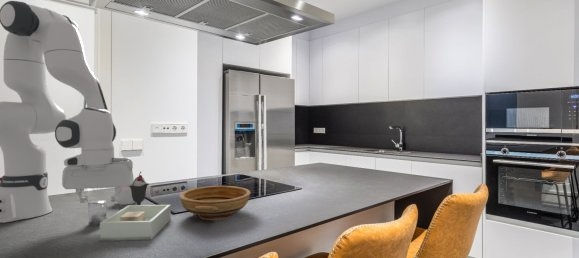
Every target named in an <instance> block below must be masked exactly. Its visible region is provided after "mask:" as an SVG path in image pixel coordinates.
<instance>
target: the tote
mask: <svg viewBox="0 0 579 258" xmlns="http://www.w3.org/2000/svg"><path fill="white" fill-rule="evenodd" d="M171 206H172V205H171V204H141V205H137V204H135V205H133V204H128V205H125V207H123V208H122V209H119V211H117V212H114V213H113V214H112V215H110V216H108V217H107V219H105V220H103V221H102V222H100V226H99V241H100V242H103V241H104V242H106V241H107V242H108V241H109V242H111V241H139V240H140V241H145V240H147V241H149V240H153V239H154V238H155V236H156V235H158V233H159V232H160V231H161V230H162V229H163V228H164V227H165V226H167V224H168V223H169V222H170V221H171V219H172V215H171V214H172V212H171V210H172V208H171ZM127 212H145V221H120V217H121V216H122V215H124V214H125V213H127Z"/></svg>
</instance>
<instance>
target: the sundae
mask: <svg viewBox="0 0 579 258" xmlns="http://www.w3.org/2000/svg"><path fill="white" fill-rule="evenodd" d="M141 173H142V171H140V172H139V175H138V176H137V177H135V178H134V182H133V184H132V185H131V186H129V187H130V188H131V193H132V199H133V201H134V202H136V203H135V204H136V205H142V204H141V203H143V201H144V200H145V199H146V196H147V194H146V193H147V189H148V188H147V187H148V186H149V185H150V184H149V183H148V182H147V181H145V178H144V177H143V175H142V174H141Z"/></svg>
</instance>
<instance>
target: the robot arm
mask: <svg viewBox="0 0 579 258" xmlns="http://www.w3.org/2000/svg"><path fill="white" fill-rule="evenodd" d="M0 25H1V26H2V28H3V30H5V31H7V32H8V34H7V35H6V38H5V42H4V48H3V83H4V85H5V86H6V87H7V88H9V89H10V90H12V91H14V92H15V93H17V95H18V96H19V97H20V100H21V101H20V102H19V101H18V102H17V101H0V149H1V152H2V156H3V167H4V170H3V171H4V175H3V176H1V177H0V223H2V224H3V223H9V222H14V221H19V220H26V219H31V218H36V217H40V216H44V215H46V214H49V213H51V212H52V211H53V208H52V206H51V203H50V198H49V193H48V185H49V184H48V183H49V178H48V177H49V176H48V172H47V153H46V151H45V149H44V148H43V147H40V146H39V145H37V144H34V142H33V141H32V140H31V138H30V135H39V134H44V135H45V134H50V133H54V136H55V137H54V138H55V139H56V142H57V143H58V145H60V146H61V147H62V148H65V149H81V151H80V152H81V153H80V154H76V155H74V156H72V157H71V156H70V157H67V158H66V159H64V160H63V165H64V166H65V167H64V168H63V170H62V177H61V180H62V181H61V182H62V183H61V185H62V187H63V188H64V189H65V190H75V193H76V195H77V196H78V198H79V204H84V203H85V204H86V203H89V196H88V195H85V193H84V191H85V189H107V188H108V189H110V188H113V189H114V188H115V189H114V194H113V195H111V196H110V198H111V202H113V203H114V202H117V201H118V200H119V194H120V192H121V191H122V187H129V186H131V185H132V184H133V182H134V180H135V178H134V172H133V165H134V164H133V161H132V159H131V158H130V159H129V158H128V157H115V147H114V146H115V145H114V143H113V142H114V141H115V139H116V136H117V129H116V126H115V124H114V121H113V116H112V113H111V111H110V110H108V107H107V103H106V99H105V96H104V93H103V90H102V86H101V85H100V84H101V83H100V81H99V79H98V77H97V76H96V75H94V73H93V72H92V69H90V66H89V64H88V61H87V59H86V52H85V48H84V44H83V41H82V37H81V35H80V34H81V33H80V29H79V25H78V24H77V22H76V21H75V20H74V19H72V18H70V17H68V16H67V15H64V14H60V13H58V12H56V11H55V10H54V11H53V10H51V9H48V8H45V7H44V8H43V7H39V6H36V5H33V4H28V3H26V2H24V1H17V0H9V1H5V3H3V4H2V6H1V7H0ZM46 69H47V71H48V73H49V75H50V76H52V77H53V78H54V79H55V80H57V81H59V82H60V83H61V84H64V85H66V86H69V87H71V88H73V89H74V90H76V91H77V92H79V93H80V94H81V95H82V96H83V98H84V101H85V103H86V107H84V108H82V109H81V110H80V112H78V113H77V114H76V115H74V116H72V117H69V118H67V115H66V113H65V111H64V110H63V108H61V107H60V106H59V105H58V104H57V103H56V102H55V101H54V99H53V98H52V96H51V94H50V92H49V90H48V87H47V86H48V85H47V76H46V74H47V73H46ZM115 191H116V193H115Z"/></svg>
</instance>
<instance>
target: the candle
mask: <svg viewBox="0 0 579 258" xmlns="http://www.w3.org/2000/svg"><path fill="white" fill-rule="evenodd" d="M113 189H114V194H115V193H116V191H115V187H114V188H113ZM117 204H118V205H121V206H128V205H133V204H137V203H136V202H134V201H133V199H132V193H131V188H130V187H122V191H121V192H120V194H119V200H118V201H117Z"/></svg>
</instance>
